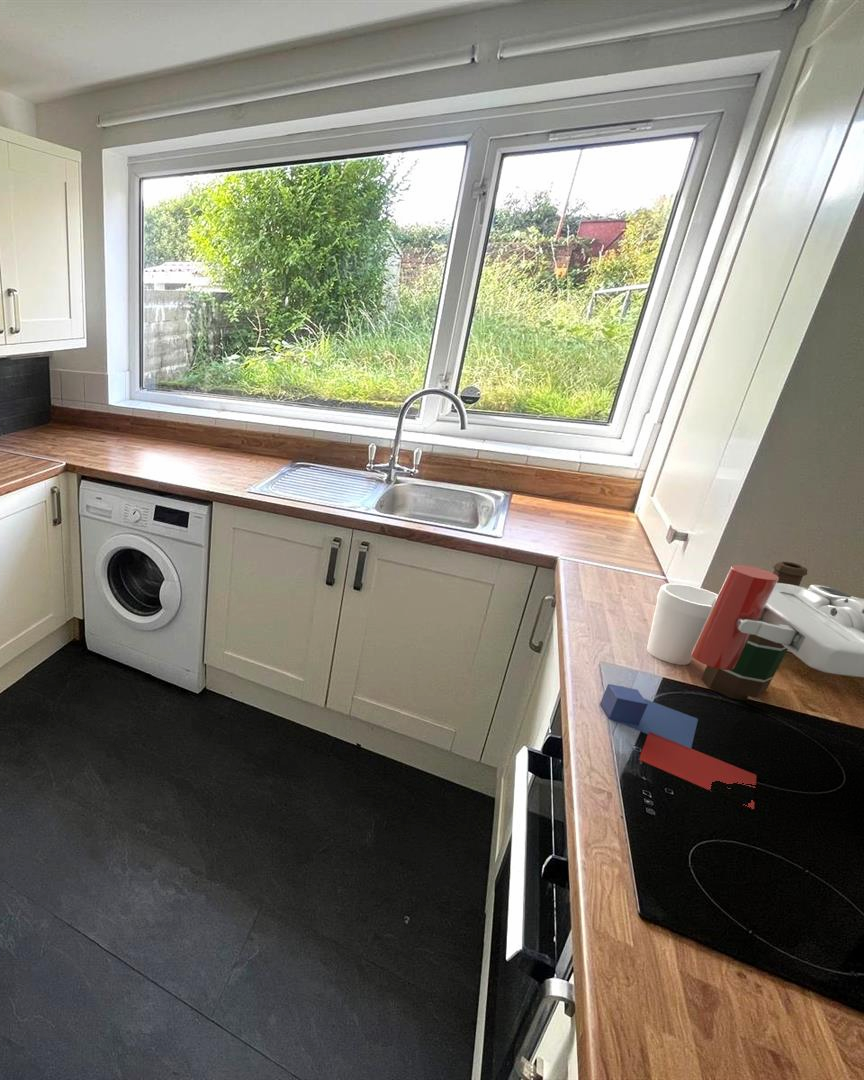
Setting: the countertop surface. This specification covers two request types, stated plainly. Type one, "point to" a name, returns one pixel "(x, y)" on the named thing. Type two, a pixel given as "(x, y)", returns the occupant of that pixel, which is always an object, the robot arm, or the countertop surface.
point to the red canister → (733, 616)
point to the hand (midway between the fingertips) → (726, 613)
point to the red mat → (692, 764)
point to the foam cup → (678, 621)
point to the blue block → (623, 704)
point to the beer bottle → (754, 654)
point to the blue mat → (666, 724)
